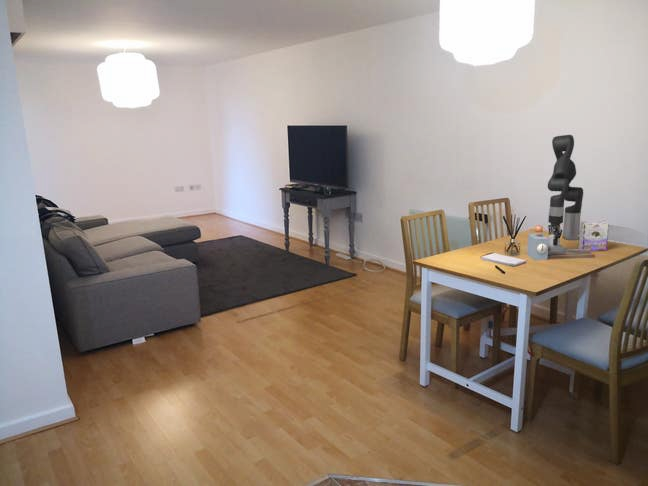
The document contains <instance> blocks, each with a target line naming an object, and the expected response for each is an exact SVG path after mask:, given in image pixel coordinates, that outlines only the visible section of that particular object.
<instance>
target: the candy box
mask: <svg viewBox="0 0 648 486" xmlns="http://www.w3.org/2000/svg"><path fill="white" fill-rule="evenodd" d="M609 223H610V222H607V221H605V220H604V221H580V228H579V239H578V249H590V250H591V252H592V251H593V252H595V251H599V252H600V251H608V250H607V249H608V238H609V228H610V227H609V226H610V224H609Z"/></svg>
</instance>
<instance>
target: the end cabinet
mask: <svg viewBox="0 0 648 486" xmlns="http://www.w3.org/2000/svg"><path fill="white" fill-rule="evenodd" d="M526 245H527V246H526V255H527V256H528V257H530V258H531V259H533V260H534V261H537V260H538V261H541V260H549V259H548V245H549V237H547V236H545V235H543V234H541V233H527V244H526Z"/></svg>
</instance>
